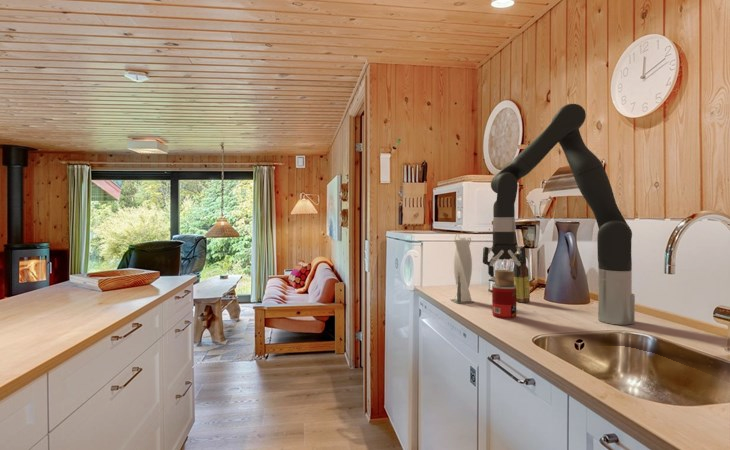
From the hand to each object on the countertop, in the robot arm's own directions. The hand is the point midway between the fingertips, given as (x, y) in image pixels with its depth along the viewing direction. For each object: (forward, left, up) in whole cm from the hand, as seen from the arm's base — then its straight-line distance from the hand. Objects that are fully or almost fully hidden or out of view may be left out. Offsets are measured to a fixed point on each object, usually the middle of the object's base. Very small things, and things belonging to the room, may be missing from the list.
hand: (504, 276), depth 135 cm
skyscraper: (+10, -24, -14) cm, 30 cm away
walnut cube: (0, 0, -3) cm, 3 cm away
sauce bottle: (-14, -24, -14) cm, 31 cm away
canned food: (0, 0, -14) cm, 14 cm away
